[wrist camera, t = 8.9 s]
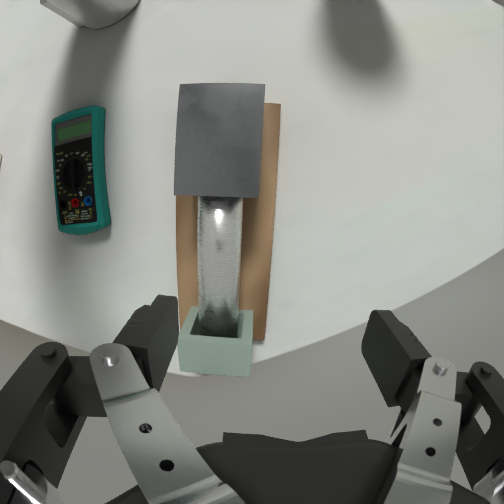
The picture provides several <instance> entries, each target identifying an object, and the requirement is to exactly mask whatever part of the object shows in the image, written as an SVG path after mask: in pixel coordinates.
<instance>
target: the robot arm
mask: <svg viewBox="0 0 504 504" xmlns="http://www.w3.org/2000/svg"><path fill="white" fill-rule="evenodd" d="M138 1H139V0H40V4H42V5H43V6H45V7H47V8H48V9H50V10H52V11H53V12H55V13H57V14H58V15H60V16H62V17H63V18H65V19H67V20H68V21H70V22H71V23H73V24H75V25H76V26H78V27H81V26H86V27H88V28H91V29H100V28H104V27H107V26H109V25H112V24H114V23H116V22H117V21H119V20H121V19H122V18H123V17H125V16H126V15H127V14H128V13H129V12H130V11H131V10H132V9H133V8H134V7H135V6H136V5H137V3H138ZM178 337H179V323H178V301H177V297H174V296H165V295H158V296H157V297H156V298H155V300H154V301H153V303H152V304H151V306H149V305H144V306H142V307H141V308H139V309H137V310H136V311H135V312H134V313H133V315H132V316H131V317H130V319H129V320H128V322H127V323H126V325H125V326H124V327H123V329H122V330H121V331H120V333H119V334H118V336H117V337H116V338H115V340H114V341H113V343H107V344H102V345H100V346H98V347H96V348H95V349H94V350H93V351H92V352H91V354H90V356H69V355H68V352H67V349H66V347H65V346H64V345H62V344H60V343H57V342H47V343H44V344H41V345H39V346H37V347H36V348H35V349H34V350H33V351H32V352H31V353H30V355H29V356H28V357H27V358H26V359H25V361H24V362H23V363H22V364H21V365H20V367H19V368H18V369H17V370H16V372H15V373H14V374H13V375H12V377H11V378H10V379H9V381H8V382H7V383H6V384H5V386H4V387H3V388H2V390H1V391H0V504H64V500H63V497H62V496H61V494H60V493H59V491H58V490H57V488H58V485H59V482H60V480H61V477H62V474H63V472H64V469H65V466H66V464H67V462H68V459H69V457H70V454H71V452H72V450H73V447H74V445H75V443H76V440H77V438H78V436H79V433H80V431H81V429H82V427H83V424H84V422H85V420H86V418H87V416H89V417H92V416H93V417H108V419H109V422H110V424H111V427H112V429H113V432H114V434H115V437H116V439H117V441H118V444H119V446H120V448H121V450H122V453H123V455H124V457H125V459H126V461H127V463H128V465H129V468H130V469H131V471H132V474H133V476H134V477H135V479H136V481H137V483H138V485H136V486H135V487H133V488H131V489H130V490H128V491H126V492H125V493H123V494H121V495H119V496H118V497H116V498H114V499H113V500H111V501H109V502H107V503H106V504H504V379H503V378H502V376H501V375H500V374H499V373H498V372H497V370H496V369H495V368H494V367H492V366H491V365H490V364H488V363H485V362H476V363H474V364H473V365H472V367H471V369H470V371H469V373H466V372H457V371H456V368H455V367H454V365H453V364H452V363H451V362H449V361H448V360H446V359H444V358H440V357H432V356H431V355H430V354H429V353H428V351H427V350H426V349H425V347H424V346H423V345H422V344H421V342H420V341H418V339H417V337H416V336H415V335H414V334H413V332H412V331H411V330H410V329H409V328H408V327H407V326H406V325H404V324H403V323H401V322H400V321H399V320H398V319H397V318H396V317H395V316H394V314H393V313H392V312H391V311H390V310H373V311H372V312H371V314H370V317H369V321H368V324H367V327H366V331H365V334H364V337H363V340H362V347H361V348H362V354H363V357H364V358H365V360H366V362H367V364H368V366H369V368H370V371H371V373H372V374H373V377H374V379H375V380H376V383H377V385H378V387H379V389H380V391H381V393H382V395H383V397H384V400H385V401H386V403H387V406H388V407H392V406H400V407H401V409H400V410H399V412H398V414H397V416H396V419H395V421H394V424H393V427H392V429H391V432H390V434H389V436H388V438H387V441H386V443H385V442H381V441H377V440H371V439H368V437H367V434H366V431H365V430H359V431H351V432H340V433H332V434H329V435H325V436H322V437H318V438H314V439H311V440H307V441H302V442H294V441H288V440H284V439H278V438H274V437H269V436H265V435H257V434H256V435H255V434H239V433H226V432H224V433H223V442H219V443H212V444H207V445H204V446H200V447H197V448H195V447H194V446H193V445H192V443H191V442H190V440H189V439H188V438H187V436H186V435H185V433H184V432H183V430H182V429H181V427H180V426H179V425H178V423H177V422H176V420H175V418H174V417H173V415H172V414H171V412H170V411H169V409H168V407H167V406H166V404H165V403H164V401H163V399H162V398H161V396H160V395H159V391H160V388H161V385H162V382H163V380H164V377H165V375H166V372H167V369H168V367H169V364H170V361H171V359H172V356H173V354H174V351H175V348H176V346H177V343H178ZM49 403H50V404H49ZM481 406H483V407H484V409H485V411H486V412H487V414H488V415H489V417H490V419H491V425H490V428H489V430H488V431H487V433H486V434H484V433H483V431H482V429H481V428H480V426H479V424H478V422H477V421H476V419H475V417H474V416H475V415H476V414H477V412H478V411H479V409H480V408H481ZM46 408H47V409H46ZM455 452H456V453H457V456H458V458H459V460H460V462H461V465H462V467H463V469H464V472H465V474H466V477H467V479H468V481H469V484H470V486H471V489H472V491H473V492H472V491H470V490H468V489H466V488H464V487H462V486H461V485H459V484H457V483H455V482H453V481H451V480H450V476H451V472H452V467H453V462H454V457H455Z"/></svg>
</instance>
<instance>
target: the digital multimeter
mask: <svg viewBox="0 0 504 504" xmlns="http://www.w3.org/2000/svg"><path fill="white" fill-rule="evenodd" d="M104 124H105V109H104V108H103V107H99V106H89V107H84V108H80V109H76V110H73V111H70V112H67V113H65V114H63V115H60V116H58V117H56V118H54V119H53V120H52V153H53V173H54V187H55V199H56V210H57V221H58V229H59V231H61V232H64V233H68V234H75V235H81V234H88V233H91V232H94V231H97V230H99V229H102V228H104V227H106V226H108V225H110V224H111V217H110V211H109V205H108V198H107V189H106V180H105V167H104ZM92 159H93V162H92ZM93 177H94V179H93ZM74 190H75V191H74ZM94 190H95V191H94ZM96 210H97V211H96ZM81 223H82V224H81Z"/></svg>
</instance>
